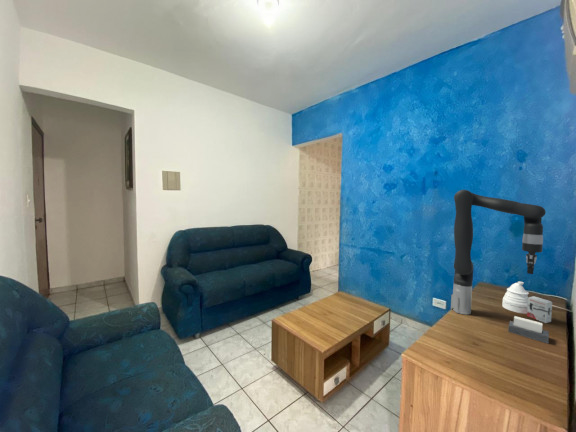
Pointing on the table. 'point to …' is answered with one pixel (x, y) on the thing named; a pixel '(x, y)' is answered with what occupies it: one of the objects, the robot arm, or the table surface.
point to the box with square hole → (529, 333)
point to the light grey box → (528, 324)
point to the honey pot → (516, 298)
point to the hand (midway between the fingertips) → (530, 272)
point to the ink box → (539, 309)
